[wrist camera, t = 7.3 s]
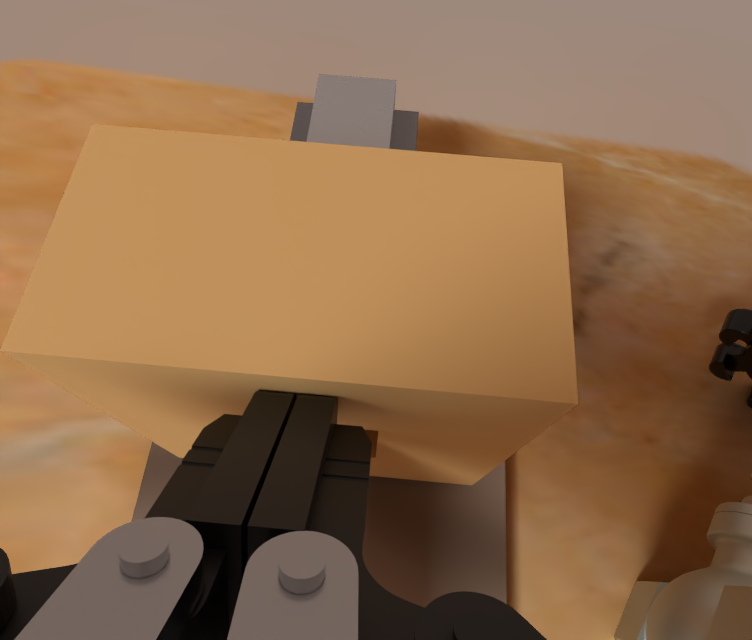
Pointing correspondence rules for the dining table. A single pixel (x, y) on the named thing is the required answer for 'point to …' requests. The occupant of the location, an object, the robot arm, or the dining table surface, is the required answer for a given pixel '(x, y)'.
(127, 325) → the collar
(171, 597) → the robot arm
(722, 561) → the valve
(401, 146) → the rectangular bar
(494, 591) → the board
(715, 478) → the dining table surface
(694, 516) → the dining table surface
